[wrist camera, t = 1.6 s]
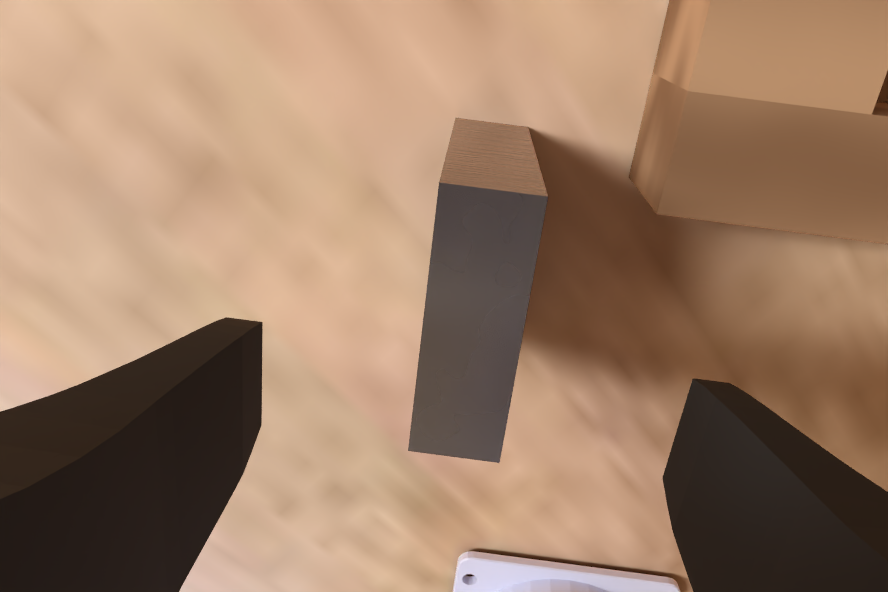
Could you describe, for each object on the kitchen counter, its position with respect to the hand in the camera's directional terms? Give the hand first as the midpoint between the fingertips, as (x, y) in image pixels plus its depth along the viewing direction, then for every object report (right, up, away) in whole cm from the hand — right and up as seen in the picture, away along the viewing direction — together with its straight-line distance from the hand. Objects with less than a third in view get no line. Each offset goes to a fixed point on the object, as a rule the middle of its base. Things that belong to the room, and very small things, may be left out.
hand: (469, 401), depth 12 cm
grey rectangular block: (+1, +4, +9) cm, 10 cm away
